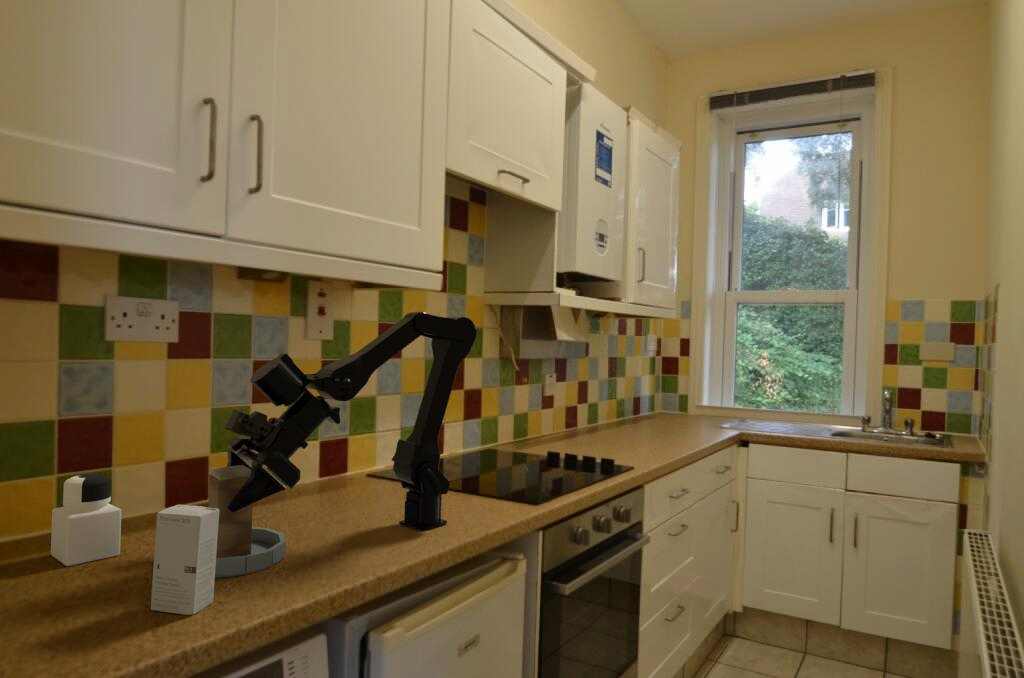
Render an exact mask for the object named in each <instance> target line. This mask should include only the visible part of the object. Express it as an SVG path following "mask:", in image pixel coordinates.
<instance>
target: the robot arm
mask: <svg viewBox="0 0 1024 678" xmlns="http://www.w3.org/2000/svg"><path fill="white" fill-rule="evenodd" d="M477 334H478V328H477V327H476V325H475V323H474V322H473V320H472V319H471V318H468V317H464V316H453V317H452V316H451V317H450V316H449V317H448V316H447V317H443V316H439V315H433V314H429V313H427V312H424V311H412V312H411V311H410V312H408V313H406V314H405V315H404V316H403V317H402V319H400V320H399V321H398V322H396V323H395V324H393V325H391V327H389V328H388V329H386V330H385V331H384V332H382V333H381V334H380V335H378V336H377V337H375V338H374V339H373V340H372V341H370V342H369V343H367V344H366V345H364V346H363V347H362V348H361V349H359V350H358V351H357V352H354V353H352V354H350V355H347V356H345V357H342V358H339V359H337V360H335V361H333V362H331V363H329V364H327V365H325V366H323V367H321V368H320V369H318V371H317V372H316V373H315V372H314V373H304V372H303V371H302V370H301V369H300V368H299V367H298V365H296V363H295V362H294V360H293V359H292V358H291V357H290V356H289V354H288V353H286V352H285V353H284V352H283V353H280V354H279V355H278V356H277V357H275V358H272V359H271V360H269V361H268V362H266V363H265V364H262V365H260V367H258V369H257V370H256V371H254V373H253V374H252V375H251V376H250V380H249V382H250V383H251V384H252V385H253V386H254V387H255V388H256V389H257V390H258V391H259V392H261V394H263V395H264V397H265V398H267V399H268V400H269V401H270V402H271V403H272V405H273V406H274V407H280V406H284V407H288V408H287V409H286V410H284V412H282V414H281V415H280V416H279V417H275V416H274V417H270V418H269V419H268V415H267V414H265V413H263V412H259V411H258V410H254V411H252V412H251V413H250V414H248V413H244V412H243V411H240V410H236V409H232V412H231V415H230V416H229V418H228V420H227V422H226V424H225V426H224V429H225V430H228V431H230V432H231V433H235V434H237V435H236V436H234V437H233V438H232V439H231V440H229V442H228V443H227V444H226V446H227V448H226V453H227V465H226V466H225V467H228V466H239V465H243V466H245V467H247V468H249V469H251V476H250V477H249V479H248V480H247V481H246V483H245V484H244V485H243V487H242V488H241V489H240V491H239V492H238V493H237V494H236V496H235V497H234V498H233V500H232V501H231V503H230V504H229V506H228V509H229V510H230V511H231V512H235V511H237V510H240V509H242V508H244V507H246V506H248V505H250V504H252V503H253V504H254V503H257V502H259V501H260V500H264V499H265V498H267V497H271V496H272V495H275V494H276V493H280V492H284V491H286V490H287V489H286V488H289V489H291V490H292V489H293V488H294V487H295V486H296V485H297V484H298V483H299V482H300V480H301V470H300V469H299V468H298V466H297V465H295V464H294V463H293V462H292V461H291V460H290V458H291V457H292V456H293V455H294V454H295V453H296V452H297V451H298V450H299V449H303V450H305V449H306V448H307V447H308V446H309V443H308V442H306V441H307V440H308V439H309V438H310V437H312V435H313V434H314V433H315V432H316V431H317V430H318V429H319V428H320V427H321V426H322V425H323V424H324V422H325V421H327V422H328V423H332V424H334V425H335V424H336V425H339V424H341V415H340V411H341V408H340V407H339V406H331V405H330V404H329V402H328V401H327V400H325V399H328V400H329V399H330V400H333V401H337V402H349V401H351V400H352V399H354V398H355V397H356V396H357V395H358V394H359V393H360V391H362V389H363V388H364V387H365V386H366V385H367V383H369V380H370V379H371V376H372V375H373V374H374V373H375V371H377V369H379V368H380V367H382V366H383V365H384V364H386V363H387V362H388V361H389V360H391V359H392V358H394V357H395V356H396V355H398V353H400V352H401V351H403V350H404V349H405V348H406V347H408V346H409V345H411V344H412V343H413V342H414V341H416V340H417V339H418V338H420V337H424V338H429V339H431V351H432V355H433V361H432V365H431V368H430V371H429V374H428V375H429V376H428V378H427V380H426V381H427V382H426V385H425V388H424V392H423V395H422V398H421V402H420V405H419V409H418V413H417V414H416V415H417V416H416V419H415V422H414V426H413V429H412V432H411V434H410V435H409V436H408V437H407V438H406V439H405V440H403V439H401V438H400V439H398V440H397V442H396V449H395V453H394V455H393V457H391V461H392V462H393V467H392V468H393V472H394V474H395V477H396V478H397V479H399V481H400V484H401V488H403V489H406V490H408V491H406V494H405V495H406V497H405V501H404V516H403V517H404V518H403V519H402V520H399V521H398V524H399V525H401V526H405V527H408V528H413V529H416V530H419V531H428V530H430V529H433V528H437V527H440V526H442V525H443V526H444V525H446V524H448V520H446V519H442V496H443V495H447V494H448V492H449V488H450V485H451V482H450V481H449V480H448V479H447V477H445V476H444V474H443V473H442V472H441V471H440V470H439V469H440V462H441V452H440V446H439V436H440V432H441V429H442V426H443V422H444V420H445V419H444V418H445V415H446V411H447V408H448V404H449V401H450V397H451V394H452V391H453V387H454V383H455V380H456V377H457V372H458V370H459V367H460V365H461V364H462V363H463V361H464V360H465V359H466V358H467V357H468V355H469V354H470V353H471V350H472V348H473V347H474V346H473V345H474V344H475V341H476V339H477V336H478V335H477ZM309 390H314V391H316V392H317V393H318V394H319V395H316V396H315V395H314V394H312V392H311V391H309ZM244 435H245V436H244Z"/></svg>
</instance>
